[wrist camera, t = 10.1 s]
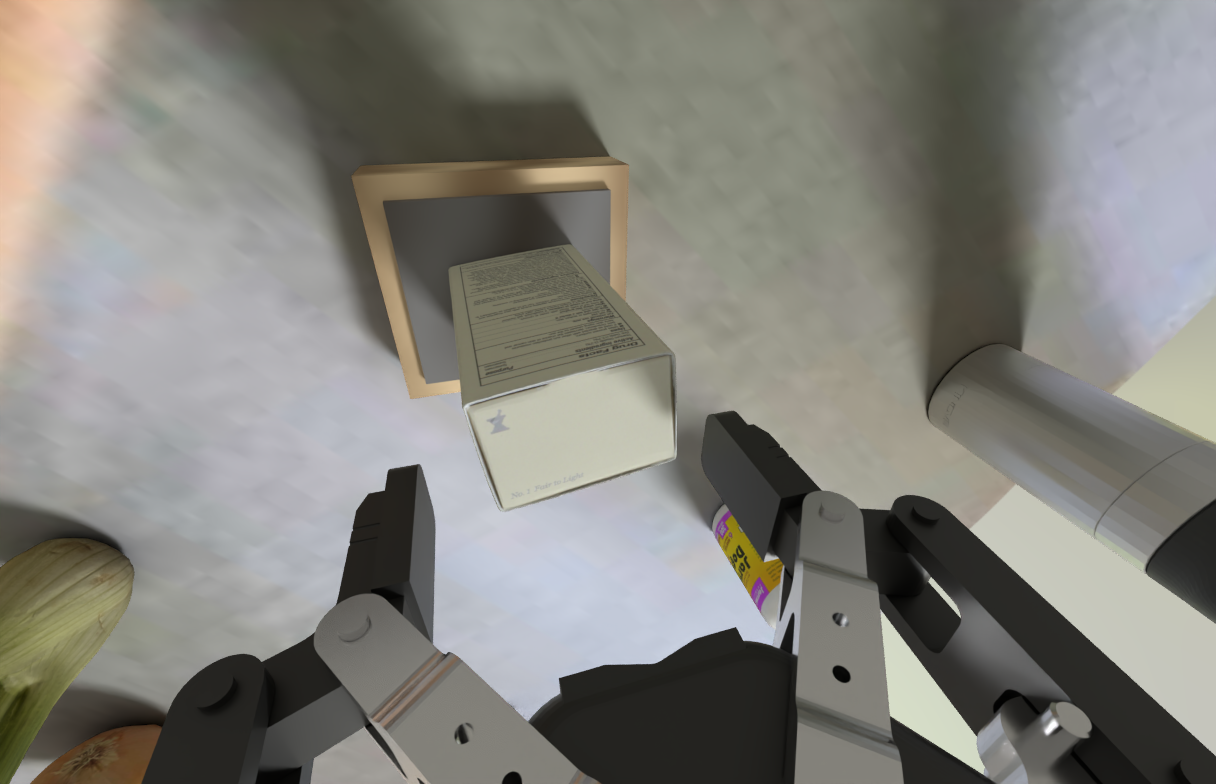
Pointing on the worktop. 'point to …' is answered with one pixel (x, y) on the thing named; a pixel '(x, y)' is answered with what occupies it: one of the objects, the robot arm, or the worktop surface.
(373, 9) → the worktop surface
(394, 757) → the robot arm
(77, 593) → the fennel bulb
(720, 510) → the supplement bottle
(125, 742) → the onion
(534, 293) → the skincare box
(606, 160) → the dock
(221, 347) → the worktop surface
